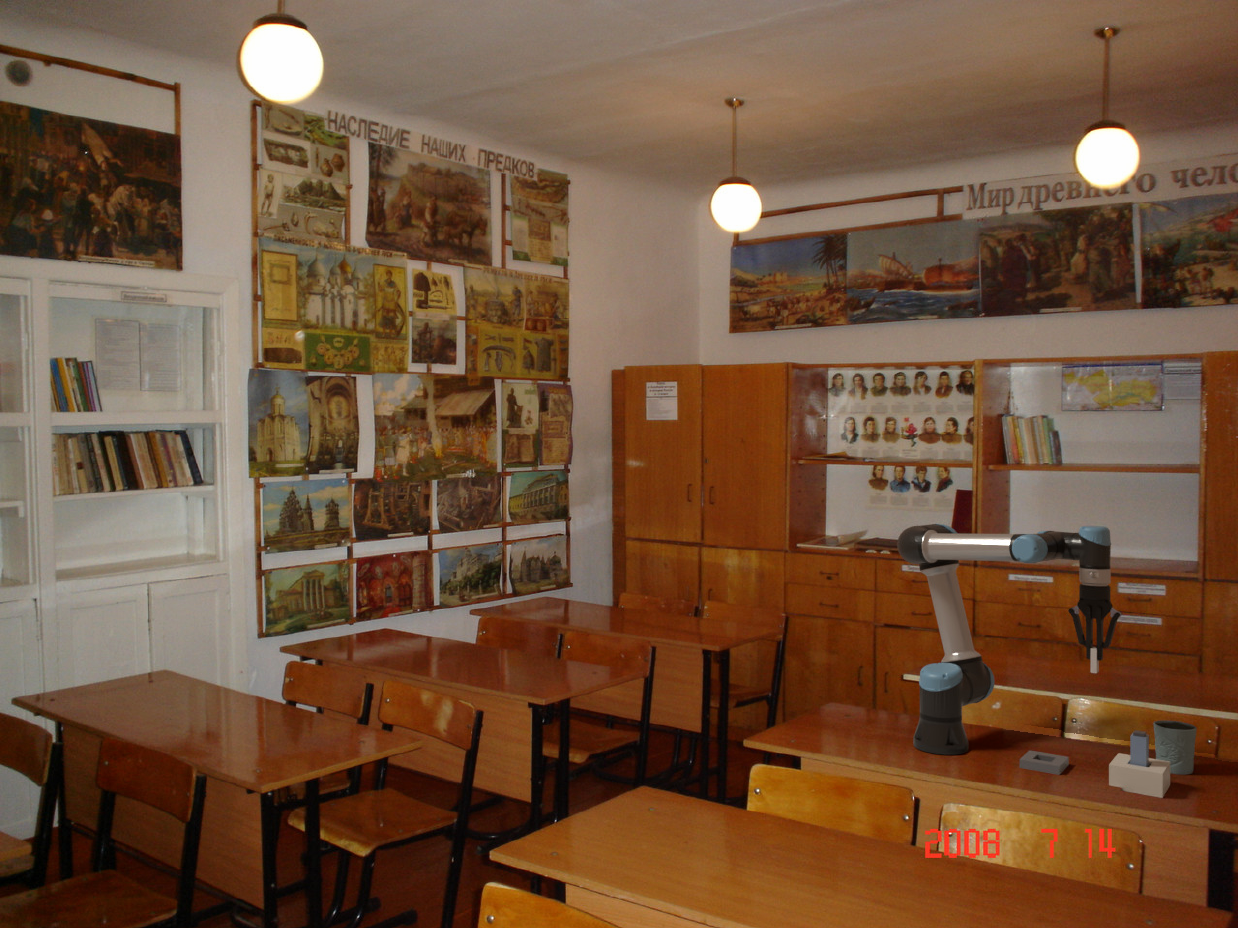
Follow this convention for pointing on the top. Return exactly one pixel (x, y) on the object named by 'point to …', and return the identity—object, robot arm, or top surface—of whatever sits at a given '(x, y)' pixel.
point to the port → (1140, 776)
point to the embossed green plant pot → (1175, 745)
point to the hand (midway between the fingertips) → (1094, 671)
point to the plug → (1139, 748)
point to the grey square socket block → (1044, 762)
